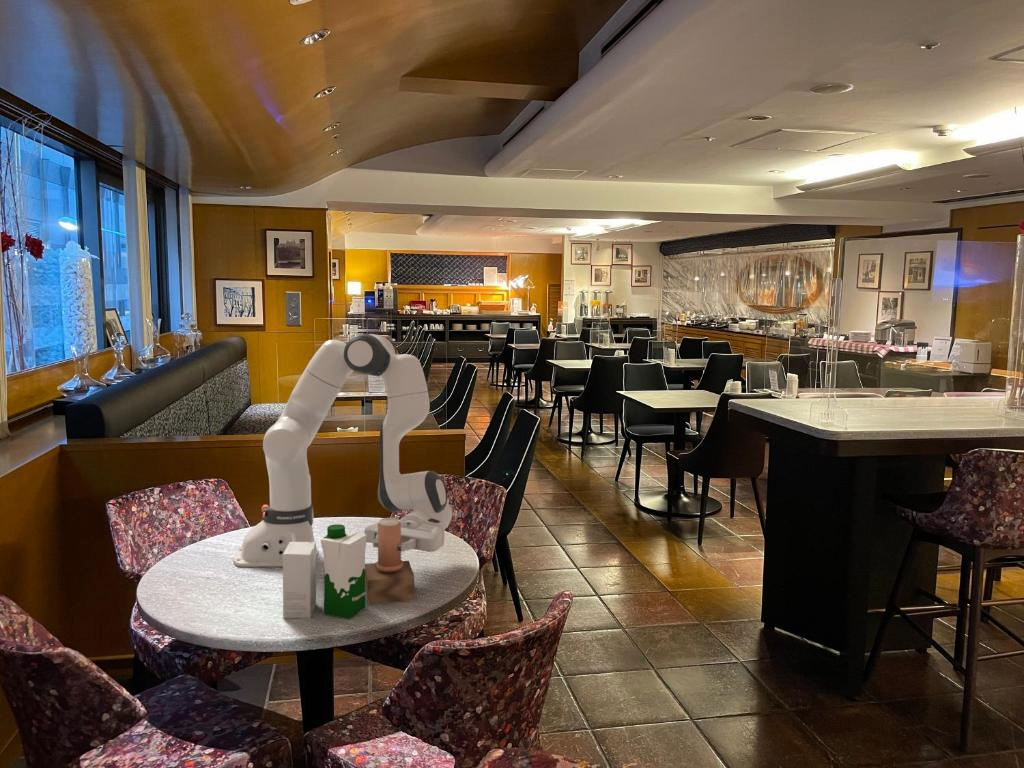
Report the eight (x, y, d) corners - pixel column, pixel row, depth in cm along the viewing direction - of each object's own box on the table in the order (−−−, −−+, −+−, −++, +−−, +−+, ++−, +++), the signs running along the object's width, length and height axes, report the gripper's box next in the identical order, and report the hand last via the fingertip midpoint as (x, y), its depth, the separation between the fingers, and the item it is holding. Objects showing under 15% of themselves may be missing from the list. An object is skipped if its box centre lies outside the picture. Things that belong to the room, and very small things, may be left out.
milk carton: (339, 600, 180) (338, 520, 178) (371, 606, 177) (371, 525, 175) (317, 615, 172) (316, 531, 169) (351, 621, 169) (350, 536, 166)
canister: (377, 572, 180) (376, 525, 179) (374, 563, 186) (374, 517, 185) (404, 570, 182) (404, 523, 180) (401, 561, 188) (401, 515, 187)
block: (368, 604, 178) (368, 580, 178) (365, 586, 189) (364, 563, 188) (414, 600, 181) (414, 576, 180) (408, 583, 192) (408, 560, 191)
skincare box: (290, 604, 178) (288, 541, 176) (318, 603, 178) (317, 540, 176) (282, 619, 169) (280, 553, 167) (312, 619, 170) (310, 553, 168)
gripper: (380, 513, 199) (351, 528, 186) (449, 522, 192) (424, 539, 179) (380, 536, 200) (351, 552, 187) (449, 546, 192) (424, 564, 180)
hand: (387, 546), depth 183 cm, fingers closed on canister, 6 cm apart
